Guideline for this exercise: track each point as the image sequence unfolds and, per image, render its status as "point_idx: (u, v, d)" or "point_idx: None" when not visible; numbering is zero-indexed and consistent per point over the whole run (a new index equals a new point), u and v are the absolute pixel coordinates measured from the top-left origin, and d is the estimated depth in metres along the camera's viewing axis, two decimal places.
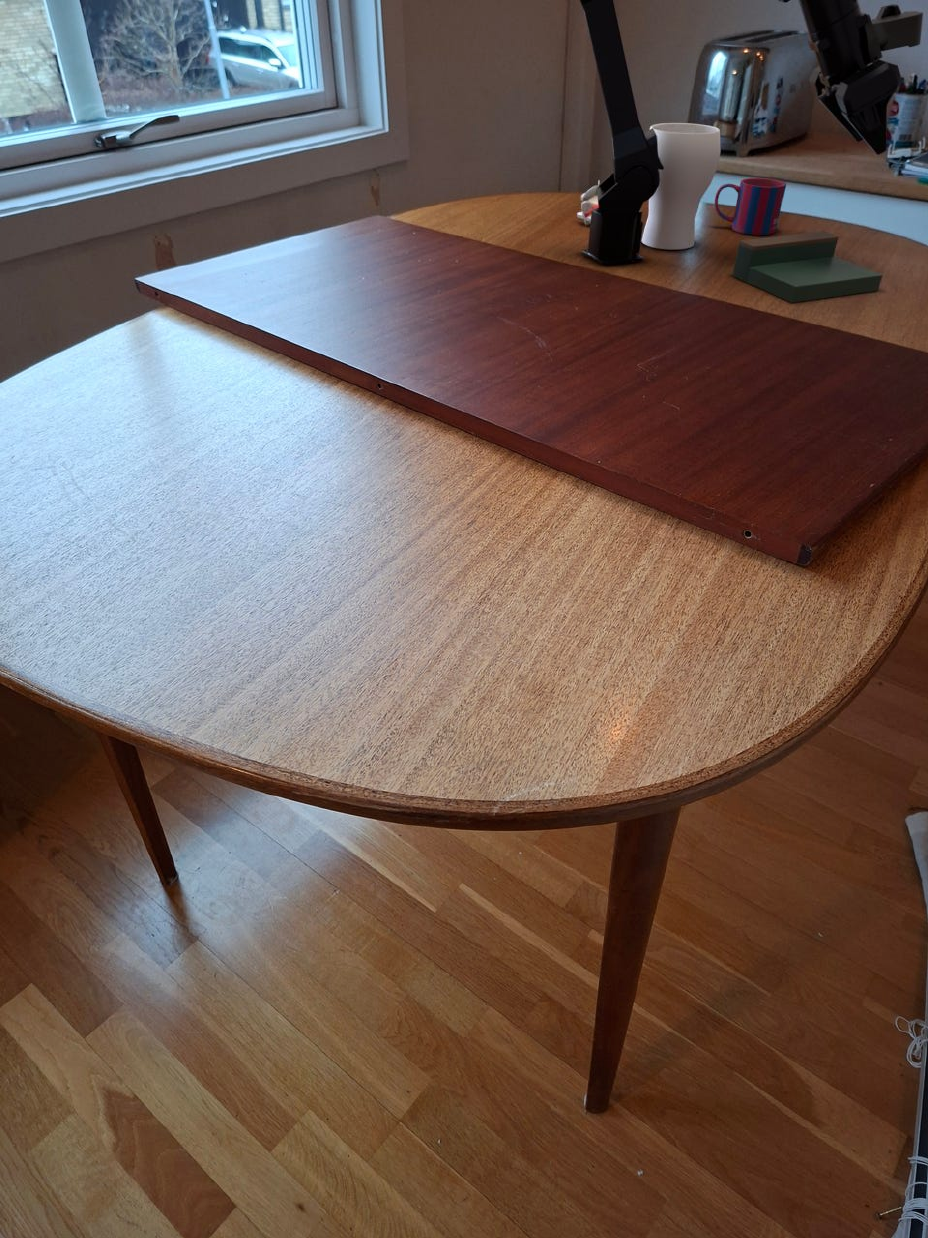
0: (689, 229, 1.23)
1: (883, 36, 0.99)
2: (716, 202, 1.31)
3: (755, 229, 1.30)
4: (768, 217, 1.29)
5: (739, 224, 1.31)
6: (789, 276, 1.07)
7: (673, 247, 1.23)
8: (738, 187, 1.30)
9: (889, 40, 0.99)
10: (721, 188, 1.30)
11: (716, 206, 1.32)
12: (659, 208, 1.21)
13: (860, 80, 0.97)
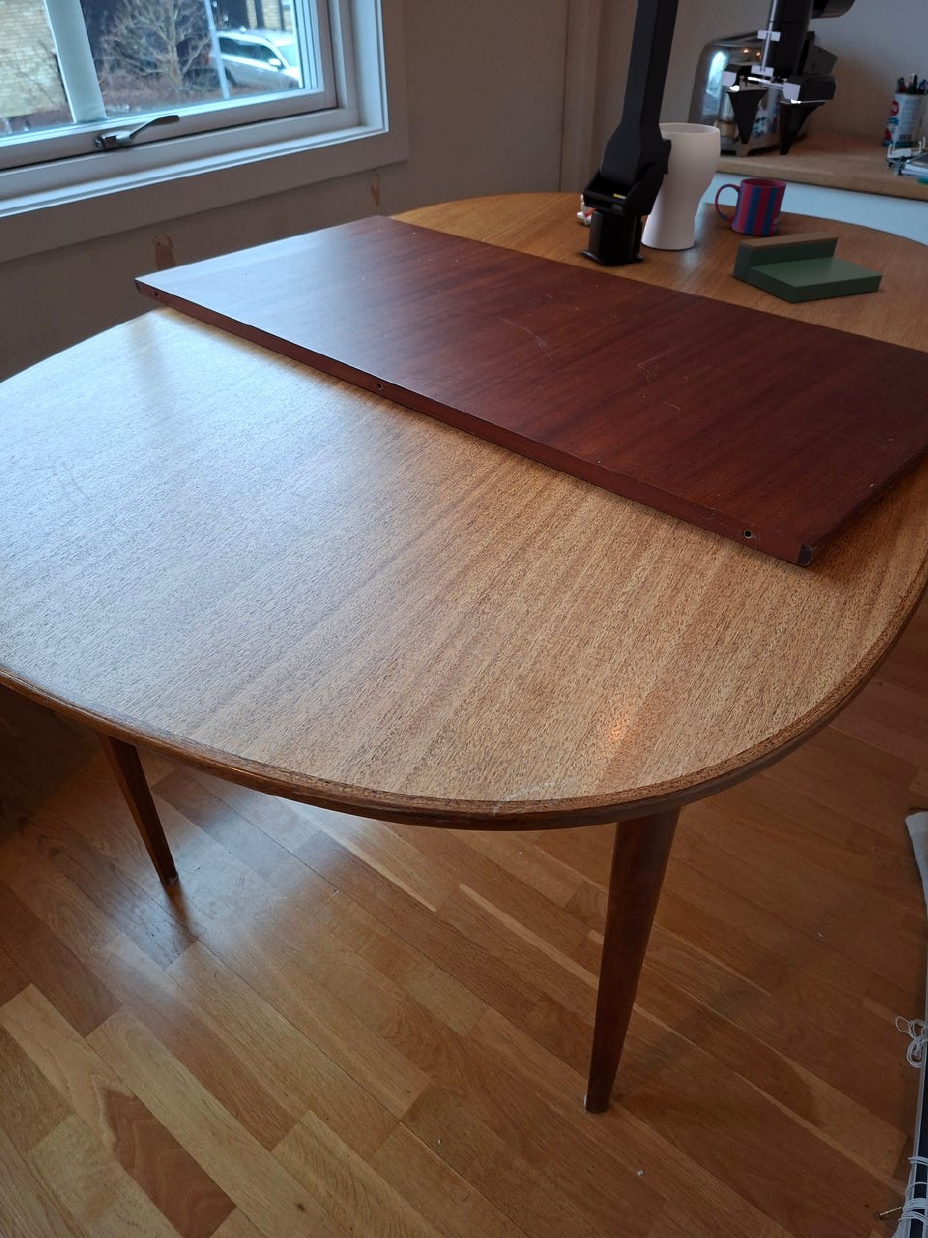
0: (689, 229, 1.23)
1: (816, 58, 1.18)
2: (716, 202, 1.31)
3: (755, 229, 1.30)
4: (768, 217, 1.29)
5: (739, 224, 1.31)
6: (789, 276, 1.07)
7: (673, 247, 1.23)
8: (738, 187, 1.30)
9: (816, 64, 1.19)
10: (721, 188, 1.30)
11: (716, 206, 1.32)
12: (659, 208, 1.21)
13: (815, 78, 1.13)
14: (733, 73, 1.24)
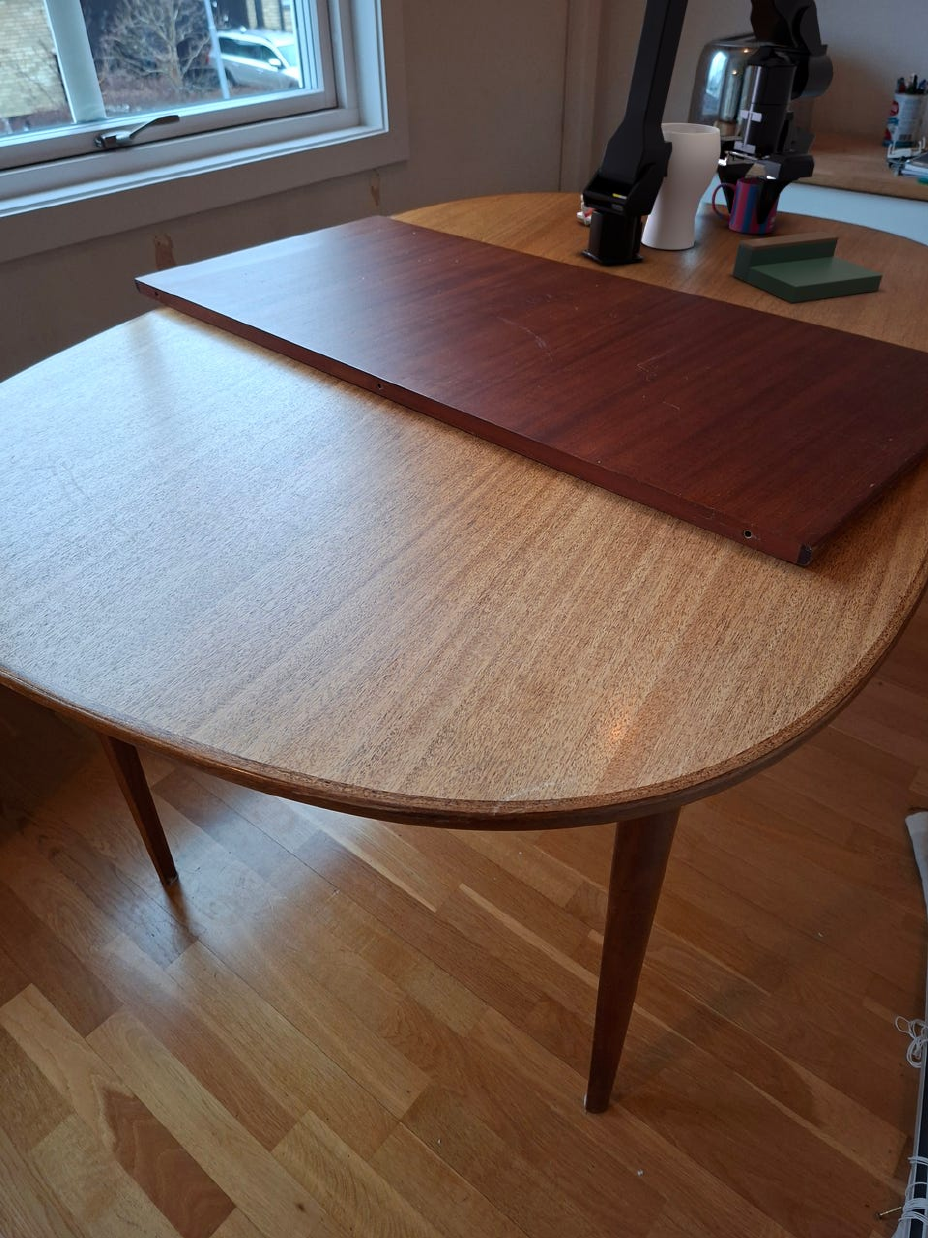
0: (689, 229, 1.23)
1: (795, 136, 1.25)
2: (713, 201, 1.32)
3: (752, 227, 1.30)
4: None
5: (736, 223, 1.31)
6: (789, 276, 1.07)
7: (673, 247, 1.23)
8: (735, 186, 1.30)
9: (795, 142, 1.25)
10: (718, 187, 1.31)
11: (713, 205, 1.32)
12: (659, 208, 1.21)
13: (795, 158, 1.19)
14: None
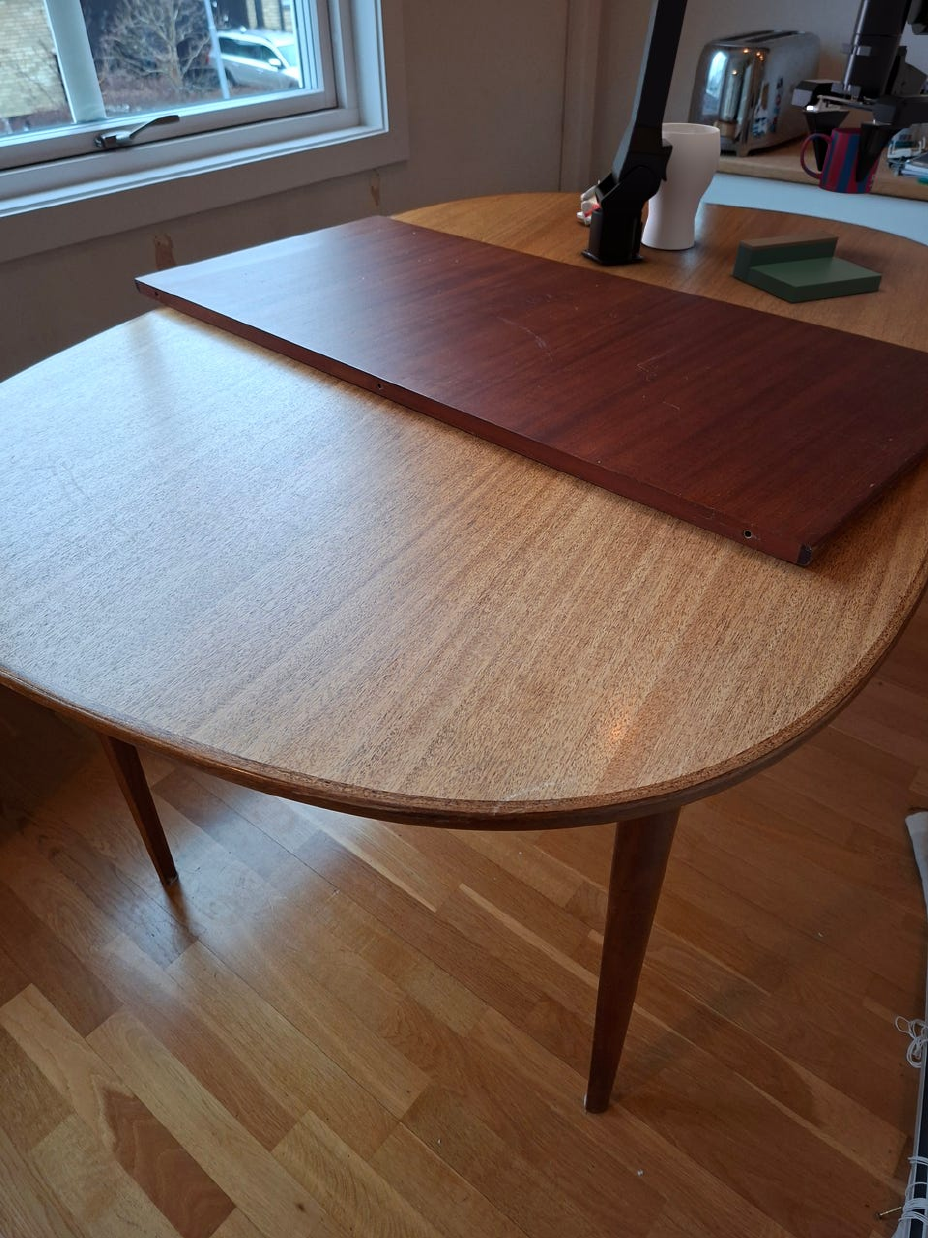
0: (689, 229, 1.23)
1: (906, 76, 1.05)
2: (802, 156, 1.12)
3: (849, 186, 1.11)
4: None
5: (830, 181, 1.12)
6: (789, 276, 1.07)
7: (673, 247, 1.23)
8: (830, 137, 1.11)
9: (905, 83, 1.06)
10: (809, 139, 1.11)
11: (802, 160, 1.13)
12: (659, 208, 1.21)
13: (913, 99, 1.00)
14: (808, 91, 1.11)
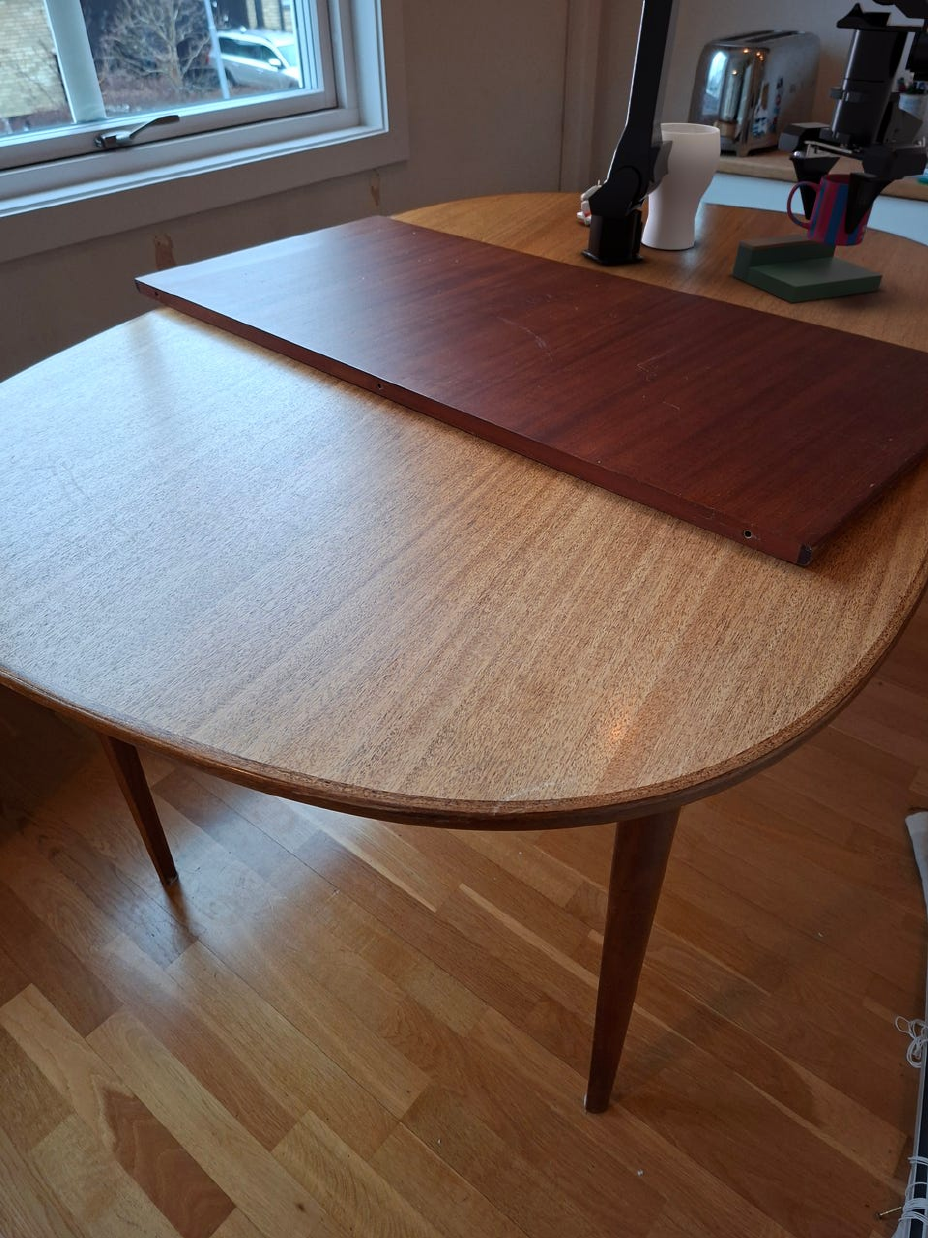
0: (689, 229, 1.23)
1: (899, 123, 0.98)
2: (789, 204, 1.05)
3: (839, 238, 1.04)
4: None
5: (818, 232, 1.05)
6: (789, 276, 1.07)
7: (673, 247, 1.23)
8: (818, 186, 1.03)
9: (899, 130, 0.98)
10: (796, 187, 1.04)
11: (789, 209, 1.05)
12: (659, 208, 1.21)
13: (905, 150, 0.93)
14: (795, 136, 1.03)
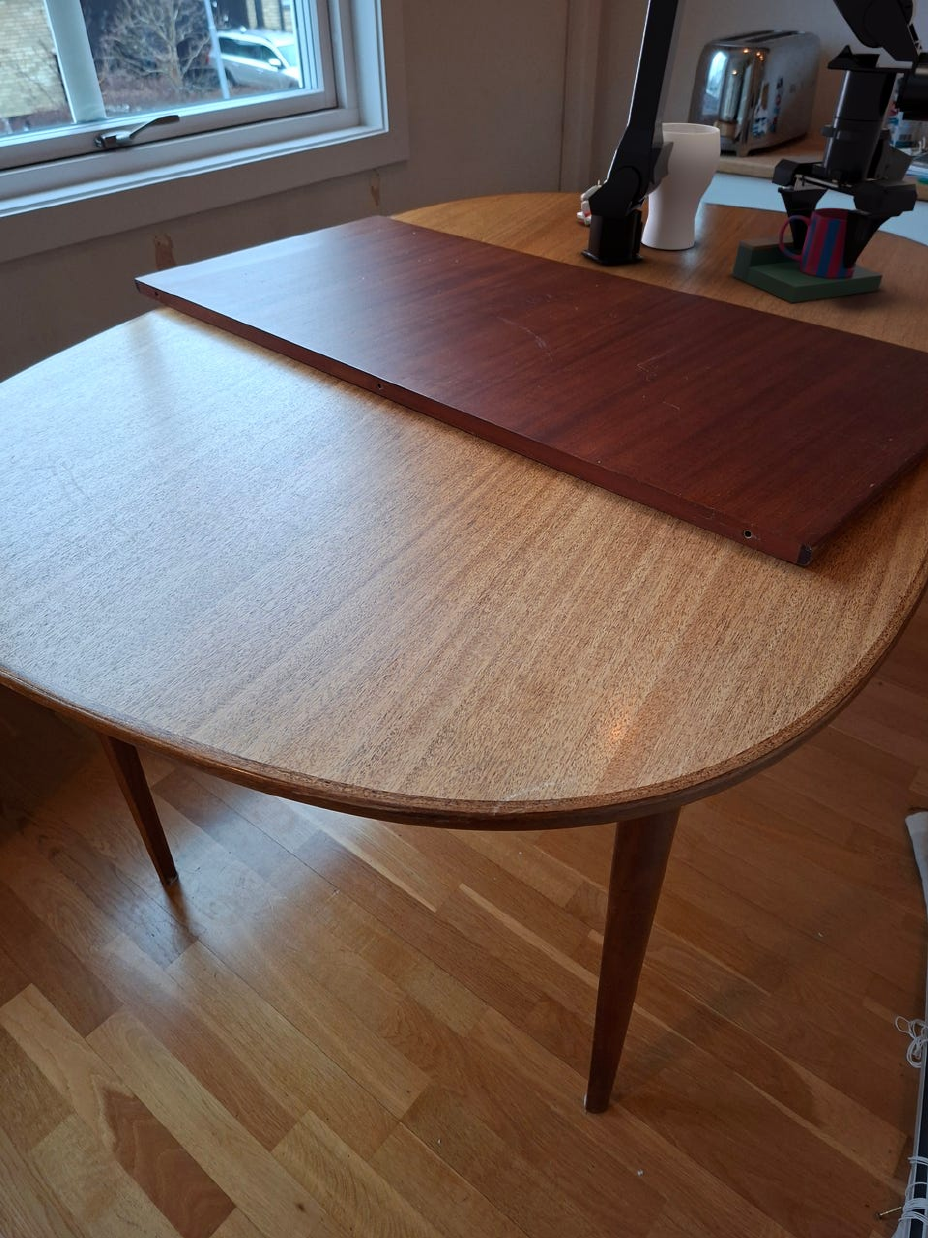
0: (689, 229, 1.23)
1: (889, 159, 1.00)
2: (781, 238, 1.07)
3: (830, 271, 1.06)
4: None
5: (810, 265, 1.07)
6: (789, 276, 1.07)
7: (673, 247, 1.23)
8: (809, 220, 1.06)
9: (889, 166, 1.01)
10: (788, 221, 1.06)
11: (781, 242, 1.08)
12: (659, 208, 1.21)
13: (895, 187, 0.95)
14: (788, 171, 1.06)
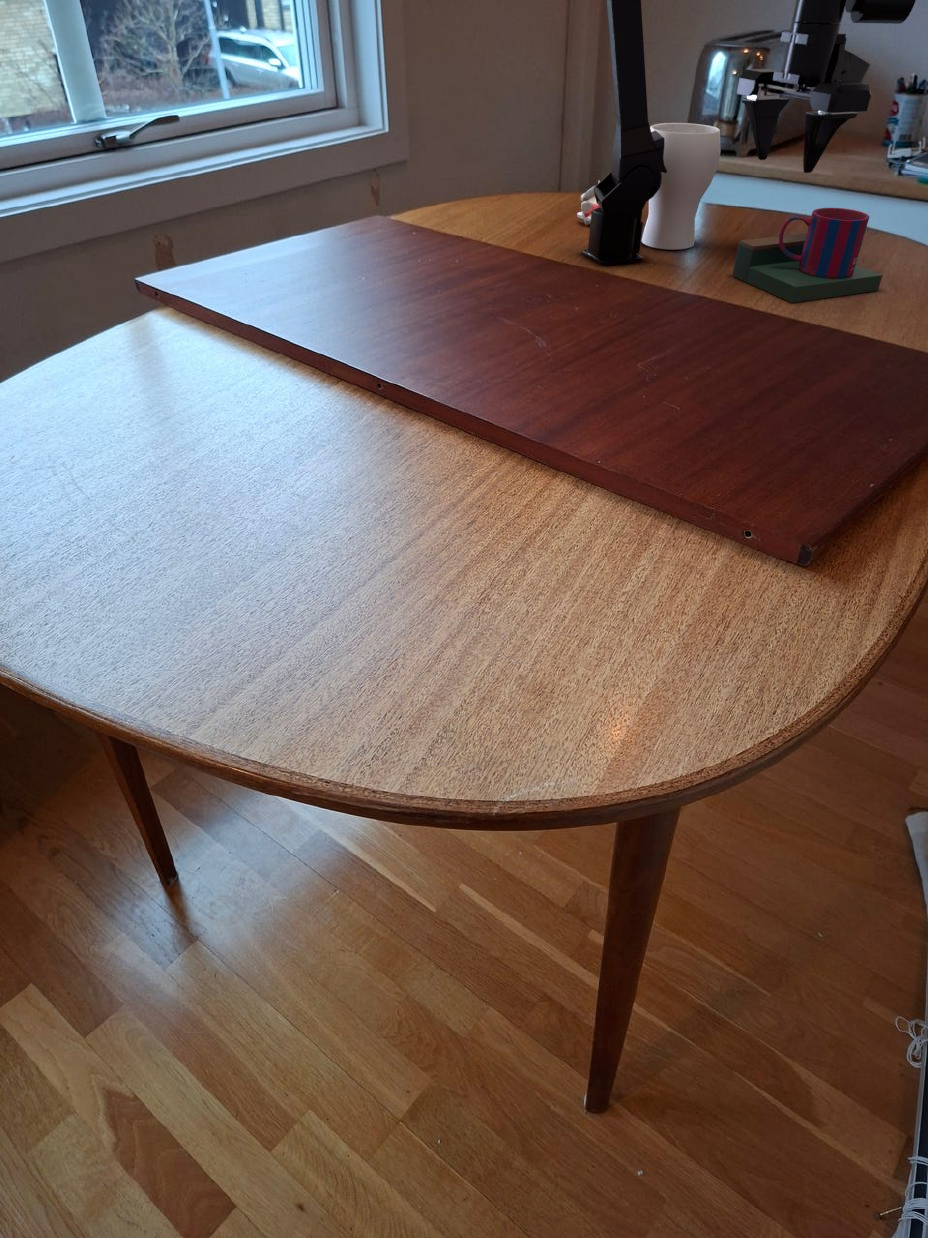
0: (689, 229, 1.23)
1: (846, 64, 1.05)
2: (781, 238, 1.07)
3: (830, 271, 1.06)
4: (847, 256, 1.05)
5: (810, 265, 1.07)
6: (789, 276, 1.07)
7: (673, 247, 1.23)
8: (809, 220, 1.06)
9: (846, 72, 1.05)
10: (788, 221, 1.06)
11: (781, 242, 1.08)
12: (659, 208, 1.21)
13: (848, 86, 1.00)
14: (751, 80, 1.10)
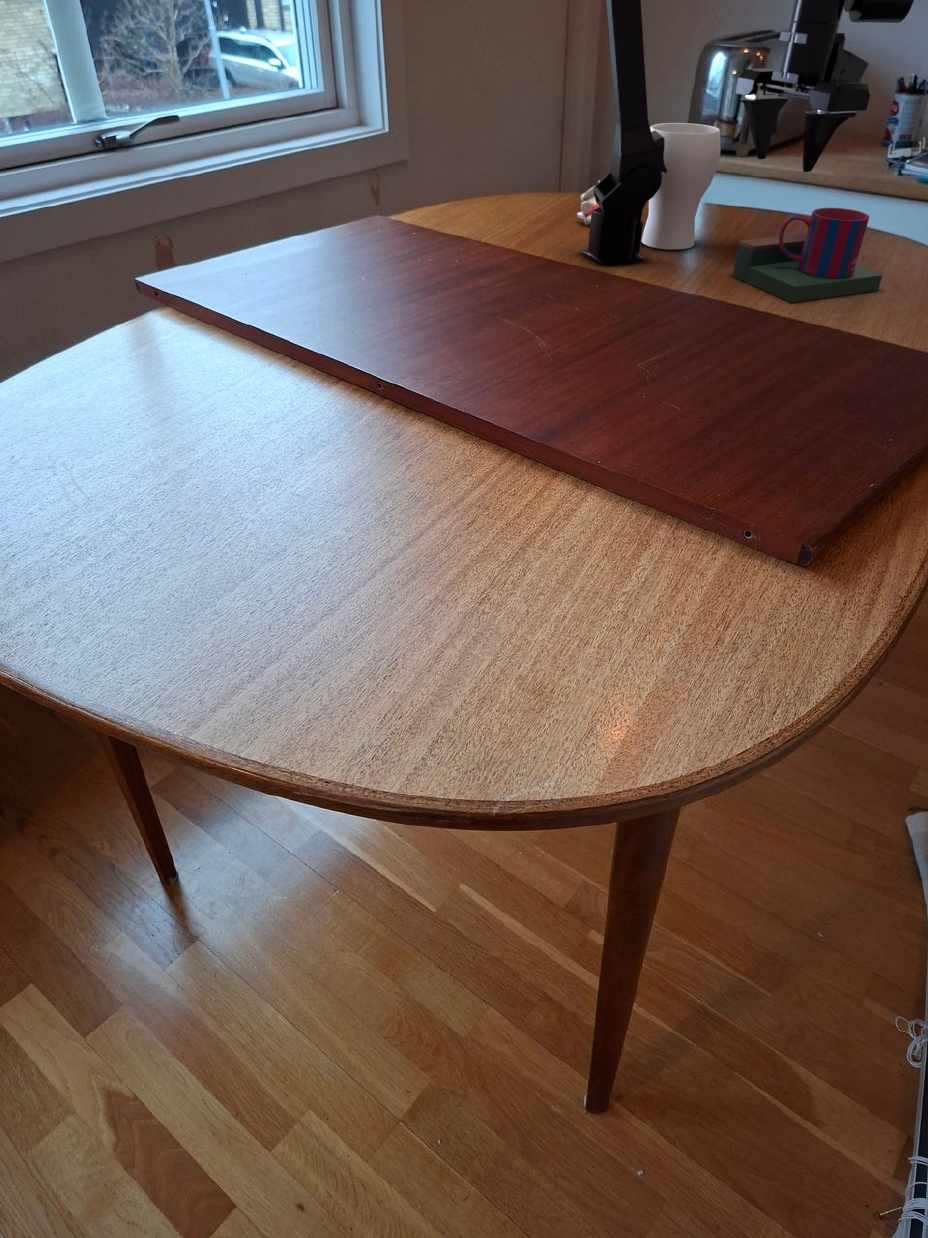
0: (689, 229, 1.23)
1: (845, 64, 1.05)
2: (781, 238, 1.07)
3: (830, 271, 1.06)
4: (847, 256, 1.05)
5: (810, 265, 1.07)
6: (789, 276, 1.07)
7: (673, 247, 1.23)
8: (809, 220, 1.06)
9: (845, 71, 1.06)
10: (788, 221, 1.06)
11: (781, 242, 1.08)
12: (659, 208, 1.21)
13: (848, 86, 1.00)
14: (750, 80, 1.11)
